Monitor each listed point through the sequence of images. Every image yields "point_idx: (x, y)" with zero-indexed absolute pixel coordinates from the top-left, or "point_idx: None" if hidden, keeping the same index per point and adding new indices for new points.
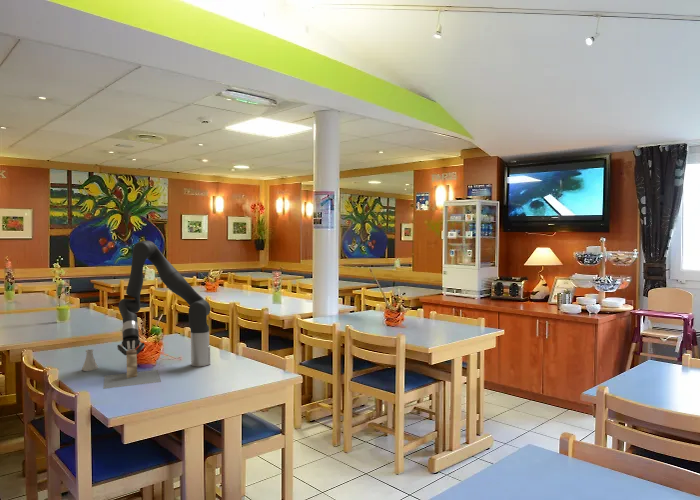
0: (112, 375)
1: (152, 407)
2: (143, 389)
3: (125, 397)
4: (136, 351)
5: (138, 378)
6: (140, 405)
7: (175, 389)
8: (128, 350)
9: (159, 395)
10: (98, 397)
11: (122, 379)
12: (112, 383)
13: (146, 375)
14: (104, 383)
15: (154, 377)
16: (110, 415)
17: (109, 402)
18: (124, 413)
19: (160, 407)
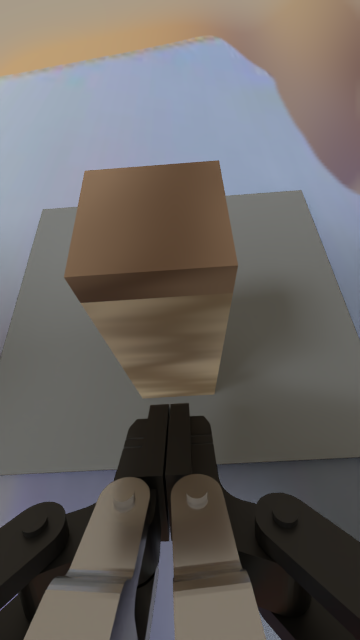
0: (333, 437)
1: (123, 59)
2: (130, 161)
3: (194, 115)
4: (84, 178)
5: None
6: (150, 70)
7: (25, 139)
8: (200, 262)
9: (89, 110)
10: (289, 130)
11: (232, 302)
12: (277, 248)
13: (84, 338)
14: (324, 260)
15: (51, 281)
16: (220, 44)
17: (239, 95)
18: (188, 47)
19: (105, 57)
